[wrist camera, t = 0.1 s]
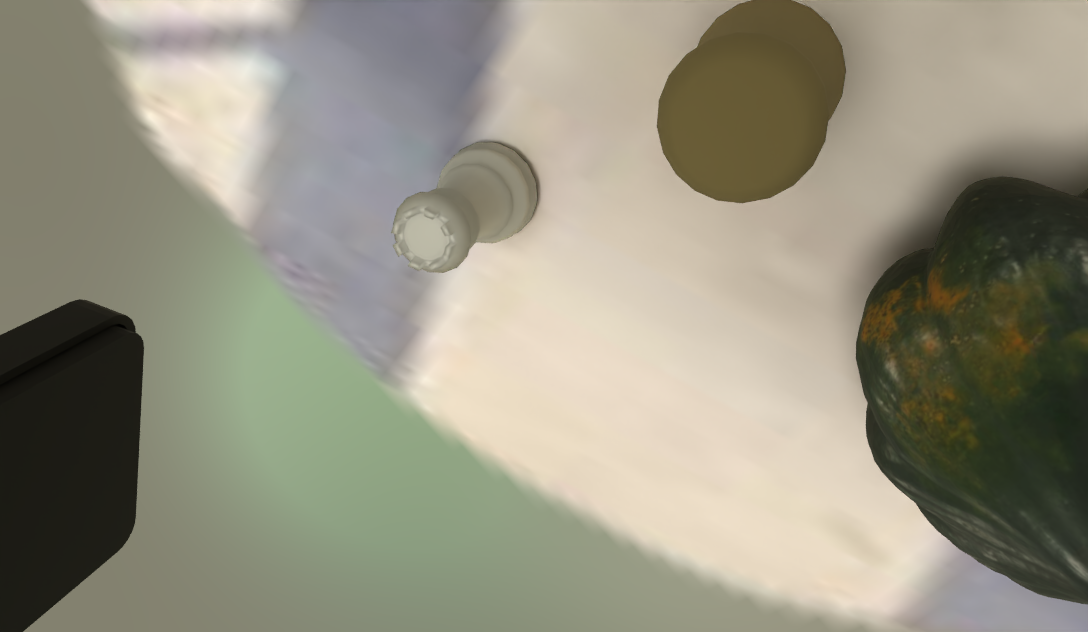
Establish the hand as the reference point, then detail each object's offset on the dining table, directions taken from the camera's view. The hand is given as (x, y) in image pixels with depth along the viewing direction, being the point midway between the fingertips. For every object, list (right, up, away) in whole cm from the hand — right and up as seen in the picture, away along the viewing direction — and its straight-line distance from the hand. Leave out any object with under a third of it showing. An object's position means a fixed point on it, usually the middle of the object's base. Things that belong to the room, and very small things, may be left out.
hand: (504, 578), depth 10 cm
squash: (+21, +3, +28) cm, 35 cm away
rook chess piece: (-2, +9, +33) cm, 34 cm away
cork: (+9, +12, +27) cm, 31 cm away
